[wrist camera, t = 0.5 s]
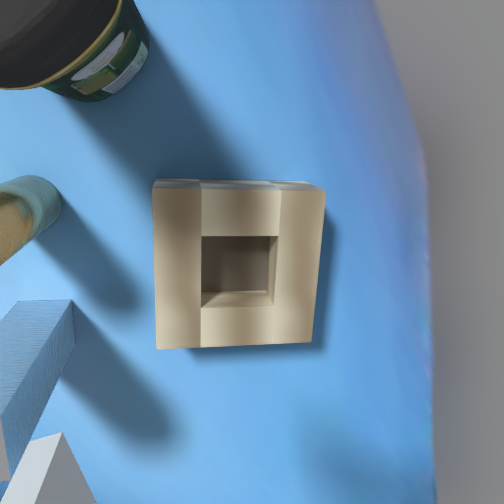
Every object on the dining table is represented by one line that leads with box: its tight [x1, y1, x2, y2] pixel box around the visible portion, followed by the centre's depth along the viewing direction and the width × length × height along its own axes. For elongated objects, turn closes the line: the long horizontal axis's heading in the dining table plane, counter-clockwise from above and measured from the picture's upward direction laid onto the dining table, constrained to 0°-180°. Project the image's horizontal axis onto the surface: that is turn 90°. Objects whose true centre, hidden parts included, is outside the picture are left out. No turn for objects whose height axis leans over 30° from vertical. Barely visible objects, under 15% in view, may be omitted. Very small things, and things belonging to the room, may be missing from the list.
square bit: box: [0, 300, 75, 481], centre depth 27 cm, size 4×4×14 cm
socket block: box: [152, 178, 326, 349], centre depth 32 cm, size 12×12×5 cm
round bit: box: [0, 175, 62, 265], centre depth 26 cm, size 4×4×10 cm
